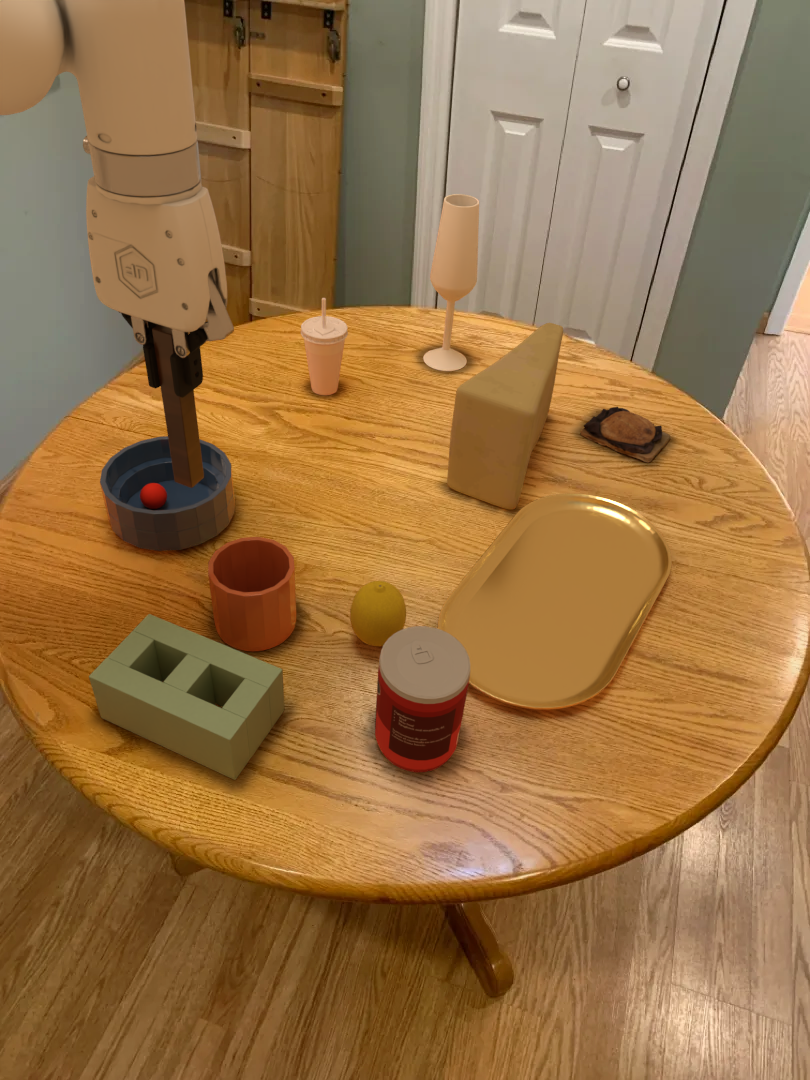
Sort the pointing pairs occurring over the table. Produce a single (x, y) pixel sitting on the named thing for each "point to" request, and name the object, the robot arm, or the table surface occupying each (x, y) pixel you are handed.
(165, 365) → the stick
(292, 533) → the table surface
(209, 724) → the cinder block
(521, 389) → the cheese
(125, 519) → the bowl
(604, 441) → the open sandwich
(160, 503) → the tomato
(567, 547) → the serving platter
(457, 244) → the champagne flute
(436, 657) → the canned food
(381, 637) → the lemon
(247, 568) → the crock
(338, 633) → the table surface
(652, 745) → the table surface
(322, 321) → the smoothie
